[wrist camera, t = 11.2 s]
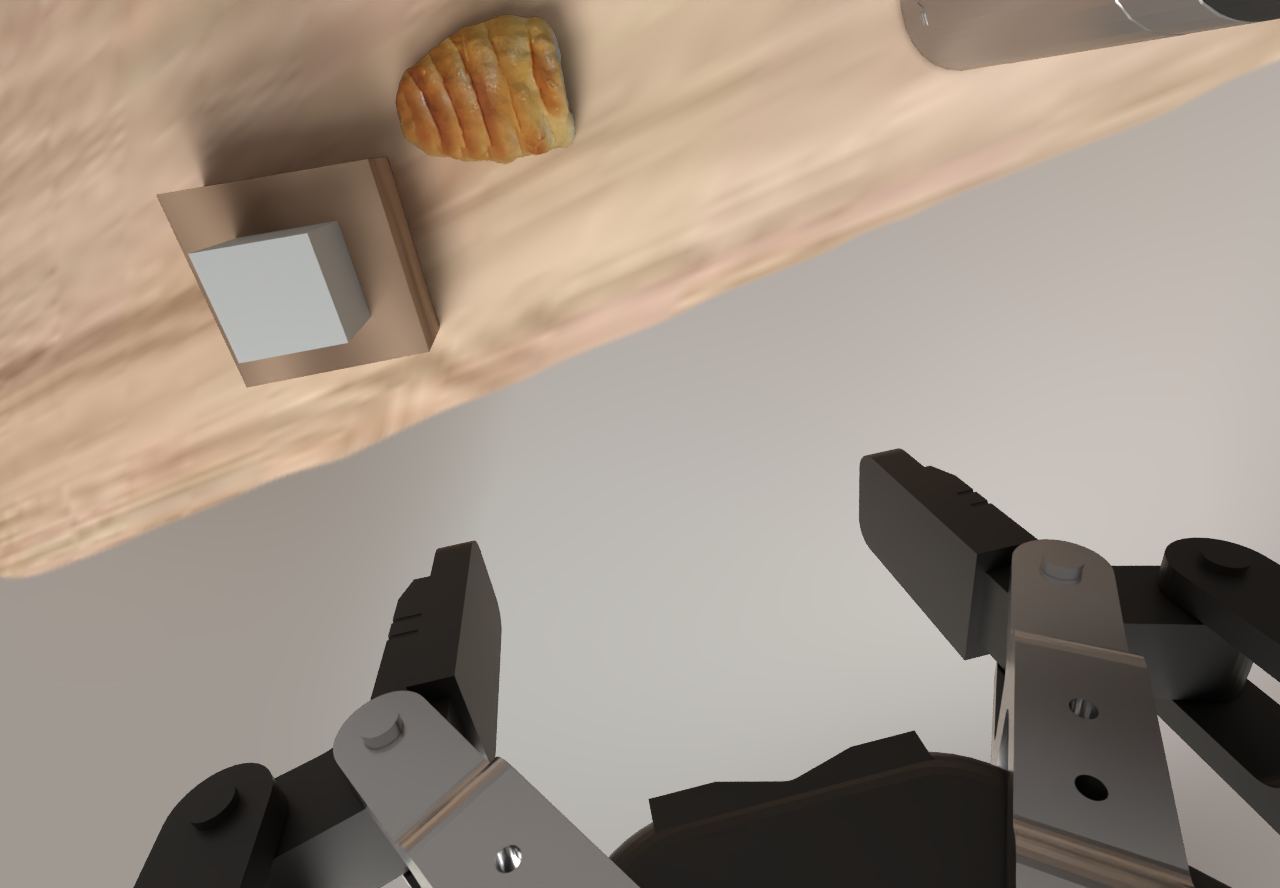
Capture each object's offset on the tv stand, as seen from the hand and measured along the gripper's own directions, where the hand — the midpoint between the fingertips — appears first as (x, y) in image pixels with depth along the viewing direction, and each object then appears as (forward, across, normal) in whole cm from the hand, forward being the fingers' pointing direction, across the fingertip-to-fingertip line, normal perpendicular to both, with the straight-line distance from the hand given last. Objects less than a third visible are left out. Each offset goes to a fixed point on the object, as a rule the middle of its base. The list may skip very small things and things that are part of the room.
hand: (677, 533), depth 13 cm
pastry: (+30, +2, -10) cm, 32 cm away
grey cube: (+25, +14, -3) cm, 29 cm away
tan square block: (+30, +14, -3) cm, 33 cm away
